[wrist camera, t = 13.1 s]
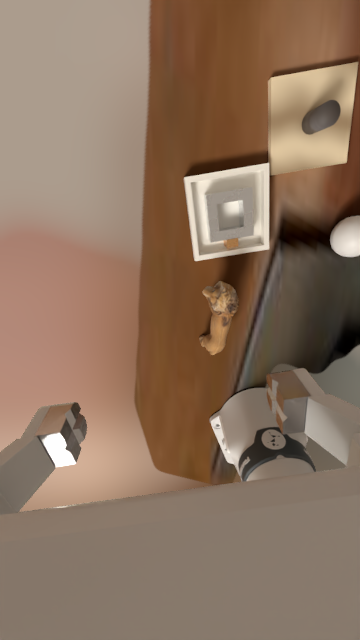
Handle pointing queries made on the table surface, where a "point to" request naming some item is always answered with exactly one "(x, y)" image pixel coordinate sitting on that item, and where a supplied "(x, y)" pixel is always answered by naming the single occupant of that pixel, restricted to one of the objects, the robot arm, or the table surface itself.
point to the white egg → (346, 237)
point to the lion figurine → (219, 315)
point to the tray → (228, 209)
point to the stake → (310, 118)
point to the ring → (245, 216)
